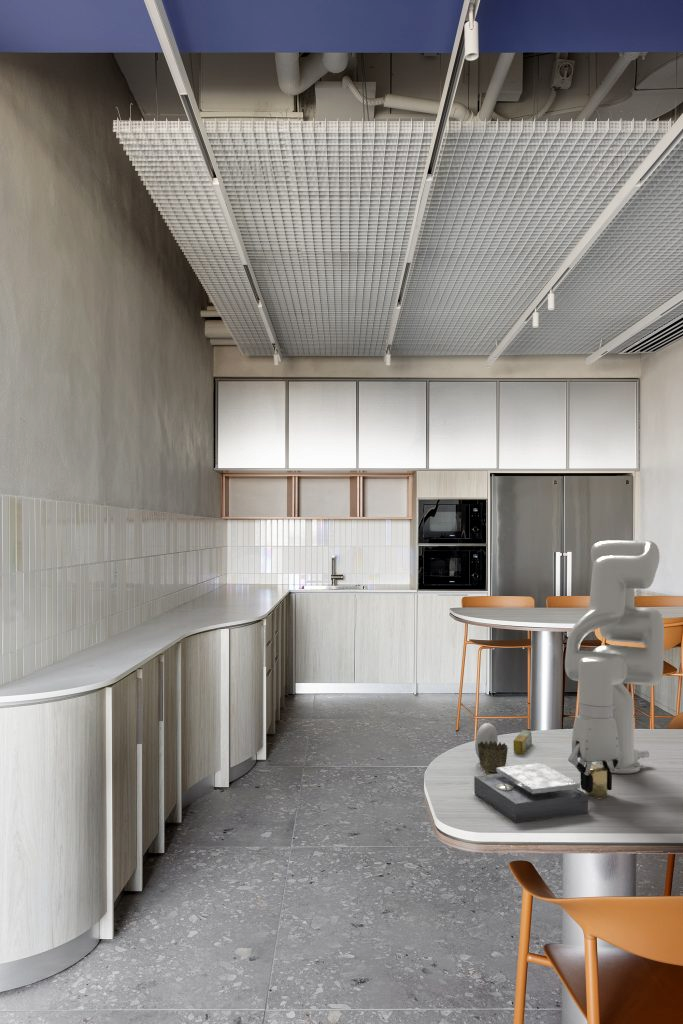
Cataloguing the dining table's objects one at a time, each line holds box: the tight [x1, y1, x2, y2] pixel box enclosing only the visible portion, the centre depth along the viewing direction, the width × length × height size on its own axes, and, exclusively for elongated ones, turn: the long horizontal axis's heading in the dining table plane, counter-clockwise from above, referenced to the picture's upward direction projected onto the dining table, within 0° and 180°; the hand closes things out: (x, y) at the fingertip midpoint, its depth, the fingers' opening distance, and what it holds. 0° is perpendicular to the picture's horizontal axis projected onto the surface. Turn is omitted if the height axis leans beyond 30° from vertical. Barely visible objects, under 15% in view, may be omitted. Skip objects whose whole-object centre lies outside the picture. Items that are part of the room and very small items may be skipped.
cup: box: [478, 741, 509, 775], centre depth 177 cm, size 8×7×8 cm
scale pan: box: [496, 762, 581, 794], centre depth 160 cm, size 12×15×1 cm
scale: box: [473, 774, 589, 824], centre depth 160 cm, size 18×18×4 cm
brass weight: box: [585, 766, 608, 799], centre depth 165 cm, size 5×5×6 cm
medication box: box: [513, 729, 533, 755], centre depth 202 cm, size 12×3×4 cm, turn 154°
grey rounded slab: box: [474, 722, 498, 759], centre depth 190 cm, size 10×3×10 cm, turn 146°
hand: (596, 788), depth 165 cm, fingers closed on brass weight, 4 cm apart
